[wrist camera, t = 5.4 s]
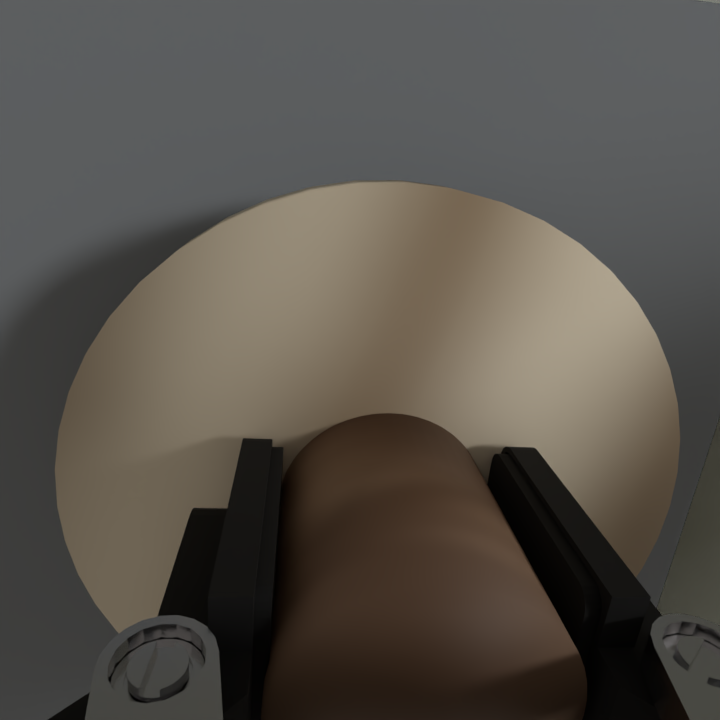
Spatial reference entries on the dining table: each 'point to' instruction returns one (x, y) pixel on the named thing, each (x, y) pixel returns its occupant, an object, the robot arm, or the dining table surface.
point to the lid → (374, 439)
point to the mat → (314, 168)
